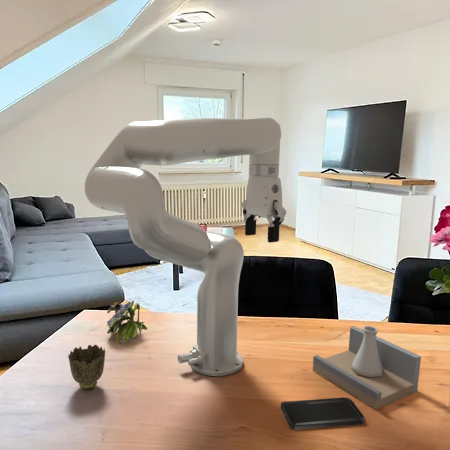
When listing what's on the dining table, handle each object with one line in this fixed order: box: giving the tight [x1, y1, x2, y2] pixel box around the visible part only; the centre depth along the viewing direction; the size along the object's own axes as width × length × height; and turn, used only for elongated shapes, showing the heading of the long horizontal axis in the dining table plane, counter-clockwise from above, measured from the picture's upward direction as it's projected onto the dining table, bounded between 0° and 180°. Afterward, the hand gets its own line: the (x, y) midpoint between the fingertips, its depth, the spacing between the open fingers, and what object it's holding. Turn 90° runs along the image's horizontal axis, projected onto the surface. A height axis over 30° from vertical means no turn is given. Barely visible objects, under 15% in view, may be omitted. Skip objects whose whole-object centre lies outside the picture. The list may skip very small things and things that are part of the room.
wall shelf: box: [312, 325, 422, 410], centre depth 95 cm, size 14×18×8 cm
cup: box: [67, 344, 106, 391], centre depth 90 cm, size 8×7×8 cm
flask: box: [351, 325, 384, 377], centre depth 95 cm, size 7×7×10 cm
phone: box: [280, 397, 366, 430], centre depth 83 cm, size 8×1×15 cm
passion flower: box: [106, 300, 148, 345], centre depth 116 cm, size 11×11×12 cm
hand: (261, 238), depth 109 cm, fingers open, 9 cm apart
